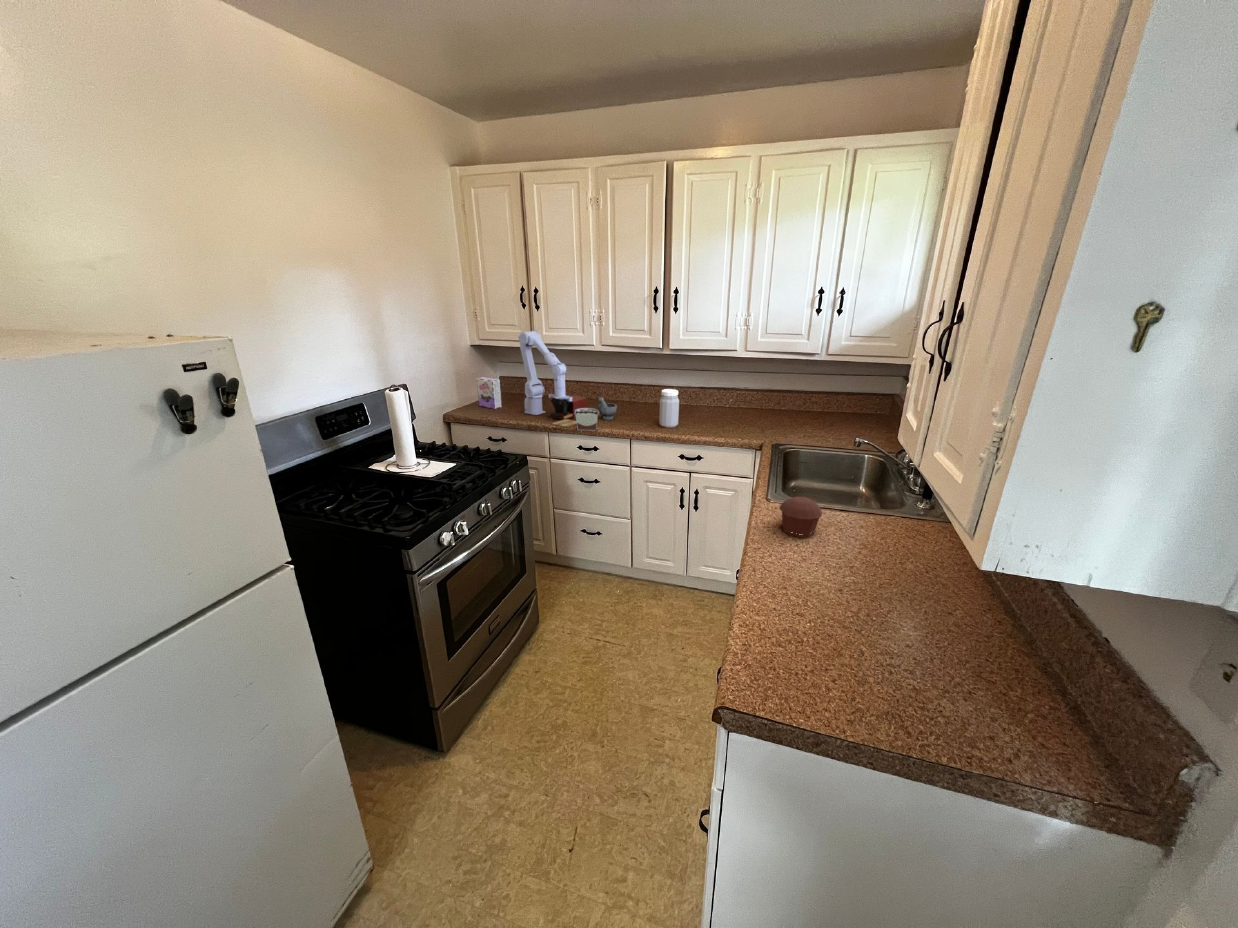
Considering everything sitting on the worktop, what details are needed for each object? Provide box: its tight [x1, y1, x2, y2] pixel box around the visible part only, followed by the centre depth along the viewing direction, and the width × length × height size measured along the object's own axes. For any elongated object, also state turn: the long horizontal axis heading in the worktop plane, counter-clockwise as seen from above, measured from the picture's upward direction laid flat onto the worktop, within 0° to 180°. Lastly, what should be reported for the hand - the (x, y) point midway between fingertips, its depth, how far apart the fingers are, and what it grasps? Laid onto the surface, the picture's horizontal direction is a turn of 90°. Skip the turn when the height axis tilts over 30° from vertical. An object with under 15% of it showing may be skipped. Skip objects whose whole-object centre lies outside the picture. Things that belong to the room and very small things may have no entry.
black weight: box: [554, 402, 567, 416], centre depth 254 cm, size 4×4×7 cm
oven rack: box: [549, 411, 573, 420], centre depth 256 cm, size 9×13×3 cm
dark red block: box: [560, 394, 588, 419], centre depth 262 cm, size 11×12×9 cm
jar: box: [658, 388, 680, 429], centre depth 240 cm, size 10×10×18 cm
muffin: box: [779, 496, 823, 539], centre depth 140 cm, size 12×11×10 cm
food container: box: [574, 407, 600, 432], centre depth 236 cm, size 12×6×10 cm, turn 84°
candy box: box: [475, 376, 503, 410], centre depth 276 cm, size 14×6×16 cm, turn 55°
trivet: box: [551, 418, 577, 428], centre depth 247 cm, size 10×10×1 cm
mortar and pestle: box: [598, 396, 618, 421], centre depth 254 cm, size 11×9×12 cm
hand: (561, 412), depth 254 cm, fingers closed on black weight, 4 cm apart
